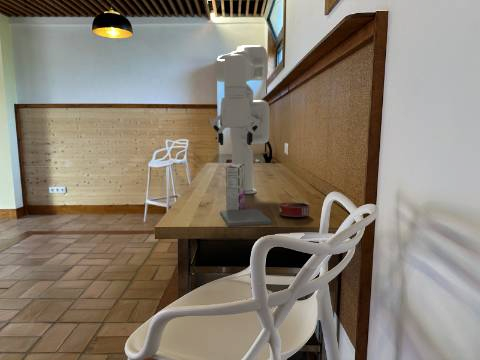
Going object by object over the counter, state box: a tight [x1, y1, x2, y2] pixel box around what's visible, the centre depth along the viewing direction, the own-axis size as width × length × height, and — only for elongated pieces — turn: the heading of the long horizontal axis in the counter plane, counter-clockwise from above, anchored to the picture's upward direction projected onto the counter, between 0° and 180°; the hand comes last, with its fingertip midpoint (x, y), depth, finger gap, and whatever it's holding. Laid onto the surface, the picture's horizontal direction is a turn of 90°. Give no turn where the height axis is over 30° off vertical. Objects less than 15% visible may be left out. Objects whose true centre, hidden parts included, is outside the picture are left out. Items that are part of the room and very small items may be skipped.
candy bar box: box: [225, 163, 246, 210], centre depth 117 cm, size 11×5×16 cm, turn 170°
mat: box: [219, 208, 272, 227], centre depth 105 cm, size 16×13×1 cm
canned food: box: [278, 187, 310, 218], centre depth 108 cm, size 11×10×10 cm
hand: (235, 144), depth 114 cm, fingers open, 9 cm apart
